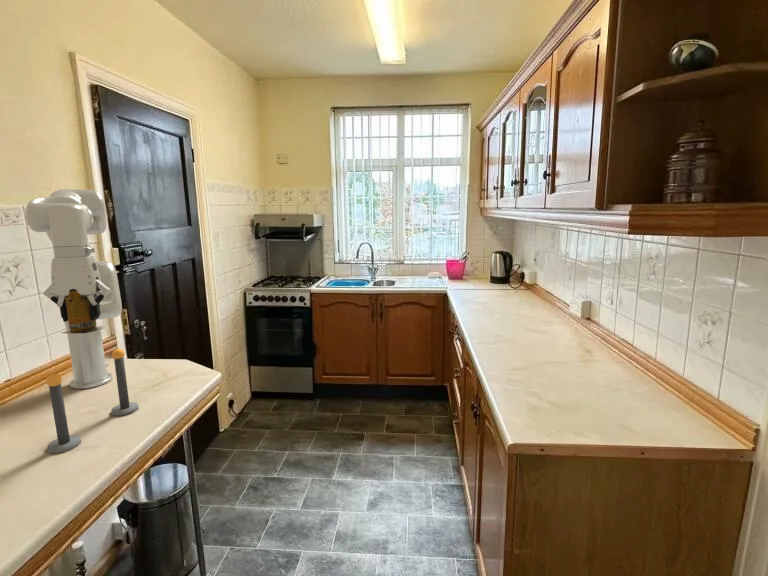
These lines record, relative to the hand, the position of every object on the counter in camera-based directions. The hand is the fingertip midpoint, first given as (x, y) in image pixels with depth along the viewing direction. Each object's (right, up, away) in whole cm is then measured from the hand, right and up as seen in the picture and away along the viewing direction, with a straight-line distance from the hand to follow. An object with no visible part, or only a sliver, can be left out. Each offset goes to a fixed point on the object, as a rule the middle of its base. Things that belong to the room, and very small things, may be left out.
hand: (81, 318), depth 114 cm
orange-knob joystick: (-2, -33, -3) cm, 33 cm away
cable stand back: (+2, -29, +15) cm, 33 cm away
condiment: (+1, -3, +1) cm, 3 cm away
